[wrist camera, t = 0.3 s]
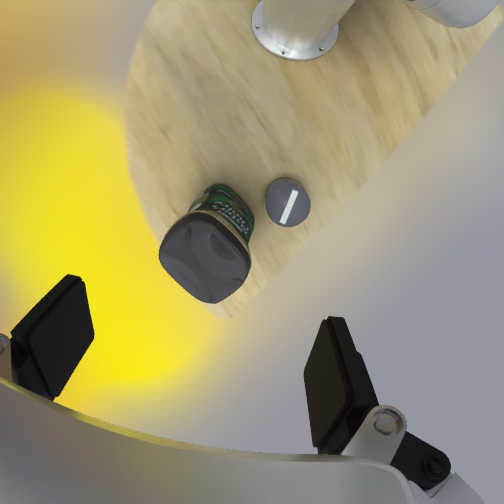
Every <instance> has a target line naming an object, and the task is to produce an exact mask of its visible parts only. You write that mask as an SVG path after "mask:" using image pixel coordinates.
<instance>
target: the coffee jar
mask: <svg viewBox="0 0 504 504" xmlns="http://www.w3.org/2000/svg"><path fill="white" fill-rule="evenodd" d="M253 228H254V216H253V214H252V212H251V211H250V209H249V208H248V206H247V205H246V204H245V203H244V202H243V200H242V199H241V198H240V197H239V196H238V195H237V194H236V193H234V192H233V191H232V190H231V189H230V188H228V187H227V186H224V185H220V184H217V185H212V186H210V187H209V188H207V189H206V190H204V191H203V192H202V193H201V194H200V195H199V196H198V197H197V198H196V199H195V200H194V202H193V203H192V205H191V206H190V208H189V211H188V213H187V214H185V215H184V216H182V217H181V218H179V219H178V220H177V221H176V222H175V223H174V224H173V225H172V226H171V227H170V229H169V230H168V231H167V233H166V234H165V236H164V239H163V241H162V244H161V246H160V249H159V260H160V263H161V265H162V266H163V268H164V269H165V270H166V271H167V273H168V274H169V275H170V276H171V277H172V278H173V279H174V280H175V281H176V282H177V283H179V285H180V286H182V287H183V288H184V289H185V290H186V291H187V292H188V293H190V294H191V295H192V296H194V297H195V298H196V299H198V300H200V301H202V302H206V303H214V304H216V303H219V302H220V301H222V300H224V299H225V298H227V297H228V296H230V295H231V294H233V293H234V292H235V291H236V290H237V289H238V288H240V287H241V286H242V284H243V283H244V281H245V280H246V278H247V276H248V273H249V270H250V268H251V254H250V250H249V246H248V243H249V239H250V236H251V234H252V231H253Z"/></svg>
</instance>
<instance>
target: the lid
mask: <svg viewBox="0 0 504 504" xmlns="http://www.w3.org/2000/svg"><path fill="white" fill-rule="evenodd" d="M310 206H311V205H310V199H309V197H308V195H307V193H306V192H305V190H304V188H303V187H302V186H301V184H300V183H299V182H297V181H296V180H294V179H291V178H280V179H277V180H275V181H274V182H272V183H271V184H270V186H269V187H268V189H267V192H266V210H267V213H268V215H269V217H270V219H271V220H272V221H273V222H275V223H276V224H278V225H280V226H283V227H293V226H296V225H298V224H300V223H302V222H303V221H304V220H305V219H306V218H307V216H308V214H309V212H310Z"/></svg>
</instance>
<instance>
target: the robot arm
mask: <svg viewBox="0 0 504 504" xmlns="http://www.w3.org/2000/svg"><path fill="white" fill-rule="evenodd" d="M355 1H356V0H261V1H260V2H259V3H258V4H257V6H256V7H255V9H254V11H253V14H252V20H251V24H252V30H253V33H254V35H255V37H256V39H257V41H258V42H259V43H260V44H261V46H262V47H264V48H265V49H266V50H267V51H268V52H270V53H272V54H274V55H275V56H278V57H280V58H283V59H287V60H293V61H306V60H311V59H315V58H317V57H320V56H322V55H323V54H325V53H326V52H328V51H329V50H330V49H331V48H332V46H333V45H334V43H335V42H336V40H337V37H338V32H339V25H338V22H339V20H340V19H341V18H342V17H343V16H344V14H345V13H346V12H347V11H348V9H349V8H350V7H351V6H352V5H353V4H354V2H355ZM400 1H402V2H404V3H406V4H407V5H409V6H411V7H412V8H414V9H416V10H418V11H420V12H421V13H423V14H424V15H426V16H428V17H430V18H431V19H433V20H435V21H437V22H438V23H441V24H443V25H445V26H448V27H452V28H467V27H470V26H473V25H475V24H477V23H478V22H480V21H481V20H483V19H484V18H485V17H486V16H487V15H488V14H489V13H490V12H491V11H492V10H493V9H494V8H495V7H496V6H497V4H498V3H499V2H500V0H400ZM256 27H259V29H256ZM319 49H321V50H322V51H319ZM281 52H284V53H285V54H284V55H283V54H281ZM11 335H12V338H11V339H9V338H8V336H6V335H5V334H1V333H0V504H484V501H483V500H482V499H481V497H480V496H479V495H478V494H477V493H476V492H475V491H474V490H473V489H472V488H471V487H470V486H469V485H468V484H467V483H466V482H465V481H464V480H463V479H462V478H461V477H460V476H459V475H458V474H457V473H456V472H455V473H454V474H452V473H451V472H450V470H451V464H450V461H449V458H448V457H447V456H446V454H444V453H443V452H442V451H440V450H438V449H436V448H435V447H433V446H431V445H429V444H428V443H426V442H424V441H422V440H421V439H419V438H417V437H415V436H414V435H412V434H410V433H409V432H407V431H406V428H407V421H406V419H405V417H404V415H403V414H402V413H401V412H400V411H399V410H398V409H396V408H395V407H392V406H389V405H379V403H378V400H377V397H376V394H375V391H374V388H373V385H372V383H371V380H370V377H369V374H368V372H367V369H366V366H365V363H364V361H363V358H362V356H361V354H360V353H359V352H357V351H356V348H355V346H354V343H353V340H352V337H351V335H350V332H349V329H348V327H347V324H346V322H345V319H344V318H343V317H333V316H329V317H328V318H327V320H323V321H322V323H321V326H320V328H319V331H318V334H317V337H316V339H315V342H314V345H313V348H312V350H311V353H310V356H309V358H308V361H307V364H306V366H305V369H304V382H305V389H306V396H307V404H308V412H309V419H310V427H311V435H312V442H313V446H314V447H317V448H318V454H280V453H263V452H249V451H239V450H230V449H222V448H215V447H208V446H202V445H195V444H190V443H185V442H180V441H174V440H170V439H165V438H161V437H157V436H153V435H149V434H145V433H141V432H137V431H133V430H130V429H127V428H123V427H120V426H117V425H114V424H110V423H107V422H105V421H102V420H98V419H96V418H93V417H90V416H87V415H84V414H82V413H79V412H77V411H74V410H72V409H69V408H67V407H64V406H62V405H60V404H57V403H55V402H53V400H54V399H55V397H58V396H59V395H60V393H61V391H62V390H63V388H64V386H65V385H66V383H67V382H68V380H69V378H70V377H71V375H72V373H73V372H74V370H75V368H76V366H77V365H78V363H79V362H80V360H81V359H82V357H83V355H84V354H85V352H86V351H87V349H88V348H89V346H90V344H91V343H92V341H93V339H94V329H93V324H92V319H91V315H90V310H89V304H88V299H87V294H86V287H85V283H84V282H83V281H82V279H81V277H79V276H75V275H70V274H67V275H66V276H65V277H64V278H63V279H62V280H61V281H60V282H59V283H58V284H57V285H56V286H54V287H53V288H52V289H51V290H50V291H49V292H48V293H47V294H46V295H45V296H44V297H43V298H42V299H41V300H40V301H39V302H38V303H37V304H36V305H35V306H34V307H33V308H32V309H31V310H30V311H29V313H27V315H26V316H25V317H24V318H23V319H22V320H21V321H20V322H19V323H18V324H17V325H16V326H15V327H14V329H13V330H12V331H11ZM321 454H328V455H321Z"/></svg>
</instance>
